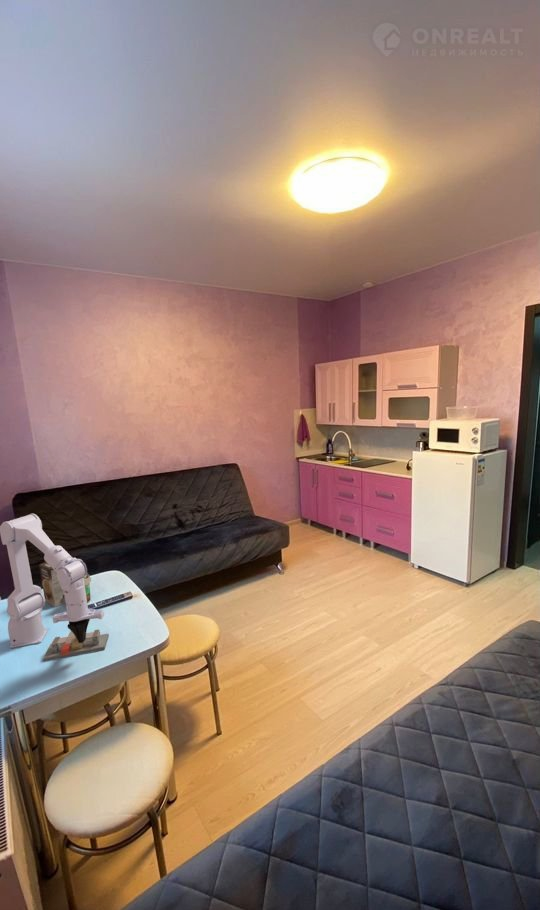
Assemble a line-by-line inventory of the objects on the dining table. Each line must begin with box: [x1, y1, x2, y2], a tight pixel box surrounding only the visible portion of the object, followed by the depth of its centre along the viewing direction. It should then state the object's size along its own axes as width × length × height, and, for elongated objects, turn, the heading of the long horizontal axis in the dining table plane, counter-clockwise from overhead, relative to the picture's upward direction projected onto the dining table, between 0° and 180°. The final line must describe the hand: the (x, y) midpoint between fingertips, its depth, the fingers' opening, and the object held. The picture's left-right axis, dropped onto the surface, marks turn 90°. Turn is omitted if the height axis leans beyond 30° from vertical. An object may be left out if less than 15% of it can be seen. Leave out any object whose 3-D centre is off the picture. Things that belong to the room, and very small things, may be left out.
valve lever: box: [61, 630, 76, 655], centre depth 119 cm, size 12×2×2 cm, turn 13°
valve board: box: [42, 633, 110, 662], centre depth 125 cm, size 18×7×1 cm, turn 103°
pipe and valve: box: [50, 629, 101, 653], centre depth 124 cm, size 14×4×4 cm, turn 103°
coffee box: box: [38, 561, 66, 608], centre depth 155 cm, size 9×6×16 cm
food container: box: [63, 572, 92, 604], centre depth 153 cm, size 12×6×10 cm, turn 168°
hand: (82, 640), depth 119 cm, fingers closed
